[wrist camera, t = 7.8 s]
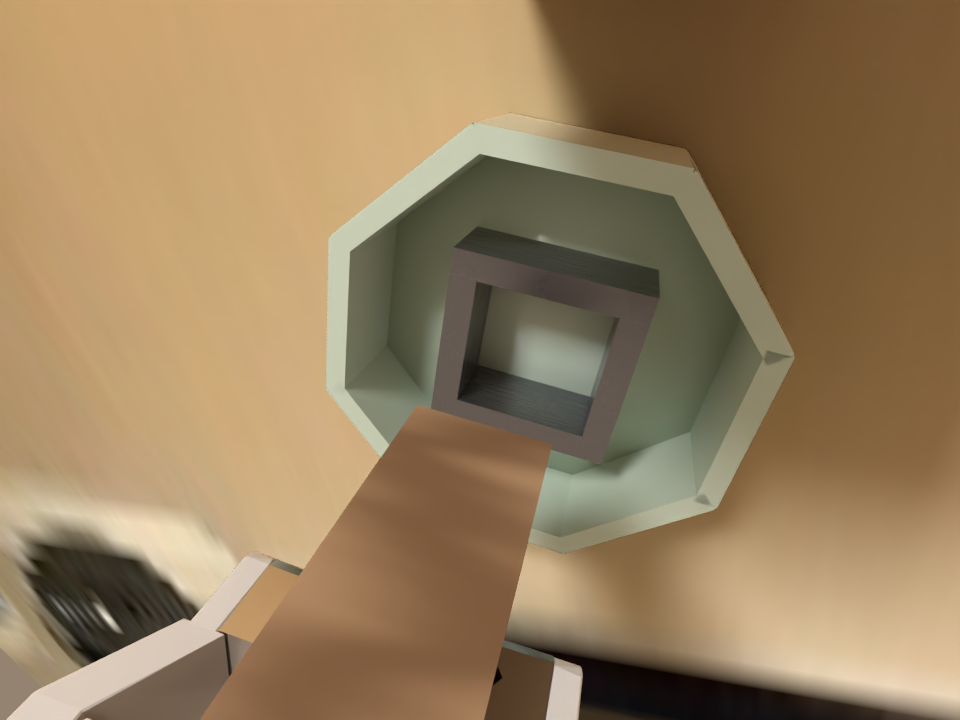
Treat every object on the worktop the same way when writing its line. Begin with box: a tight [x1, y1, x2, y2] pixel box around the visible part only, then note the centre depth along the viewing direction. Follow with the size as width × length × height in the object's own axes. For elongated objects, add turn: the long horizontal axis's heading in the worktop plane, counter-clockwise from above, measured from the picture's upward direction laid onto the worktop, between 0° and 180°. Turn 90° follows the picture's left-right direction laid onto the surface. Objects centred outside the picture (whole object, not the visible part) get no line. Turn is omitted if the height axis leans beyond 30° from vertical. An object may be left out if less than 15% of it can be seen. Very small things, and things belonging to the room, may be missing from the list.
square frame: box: [431, 226, 660, 465], centre depth 21 cm, size 7×7×3 cm
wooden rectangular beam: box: [200, 405, 552, 720], centre depth 9 cm, size 4×4×12 cm
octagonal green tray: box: [326, 113, 795, 553], centre depth 21 cm, size 15×15×5 cm
